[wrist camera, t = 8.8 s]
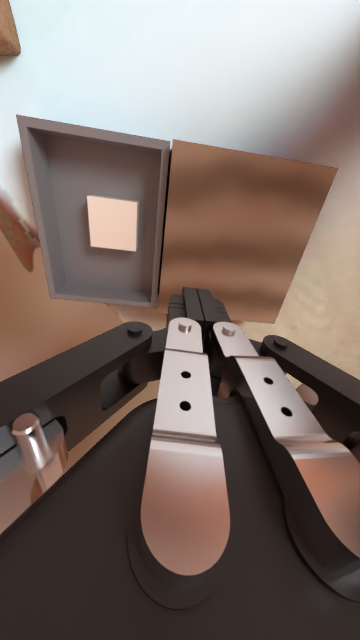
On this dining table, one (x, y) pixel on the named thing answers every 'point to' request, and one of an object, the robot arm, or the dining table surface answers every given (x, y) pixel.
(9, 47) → the candle holder
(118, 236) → the tile
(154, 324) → the dining table surface
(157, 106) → the dining table surface
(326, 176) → the brown wooden box
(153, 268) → the box
